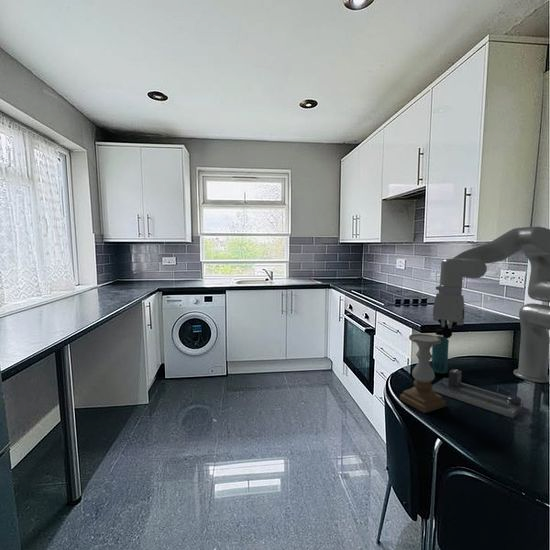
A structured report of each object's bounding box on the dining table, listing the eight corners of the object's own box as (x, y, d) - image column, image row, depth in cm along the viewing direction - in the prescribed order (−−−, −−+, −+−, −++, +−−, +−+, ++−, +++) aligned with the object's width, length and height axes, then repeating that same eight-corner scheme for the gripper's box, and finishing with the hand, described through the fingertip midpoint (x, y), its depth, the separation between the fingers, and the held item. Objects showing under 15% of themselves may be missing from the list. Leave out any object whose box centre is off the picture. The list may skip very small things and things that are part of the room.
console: (444, 382, 129) (444, 373, 128) (523, 406, 109) (523, 397, 108) (431, 390, 121) (431, 382, 121) (513, 418, 101) (514, 408, 101)
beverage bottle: (443, 371, 140) (445, 327, 138) (450, 377, 133) (452, 331, 131) (428, 370, 140) (430, 327, 139) (434, 376, 134) (436, 331, 132)
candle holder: (424, 413, 104) (427, 344, 102) (399, 399, 114) (401, 335, 112) (446, 406, 109) (449, 339, 107) (420, 393, 119) (422, 332, 117)
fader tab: (452, 383, 122) (453, 368, 122) (460, 386, 120) (461, 370, 119) (448, 386, 120) (449, 370, 119) (456, 389, 117) (457, 373, 117)
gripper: (426, 289, 123) (423, 334, 125) (468, 293, 112) (464, 343, 113) (434, 288, 128) (431, 331, 129) (475, 292, 117) (471, 340, 118)
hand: (446, 337), depth 121 cm, fingers closed
